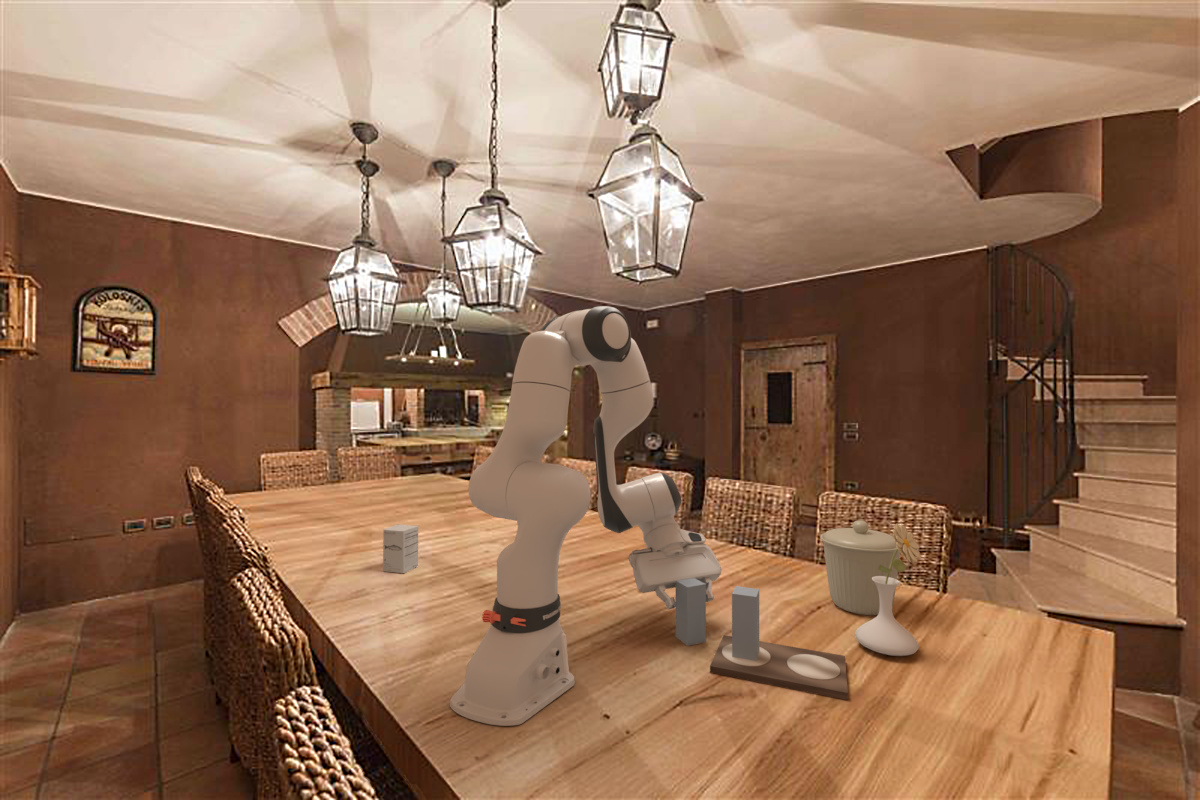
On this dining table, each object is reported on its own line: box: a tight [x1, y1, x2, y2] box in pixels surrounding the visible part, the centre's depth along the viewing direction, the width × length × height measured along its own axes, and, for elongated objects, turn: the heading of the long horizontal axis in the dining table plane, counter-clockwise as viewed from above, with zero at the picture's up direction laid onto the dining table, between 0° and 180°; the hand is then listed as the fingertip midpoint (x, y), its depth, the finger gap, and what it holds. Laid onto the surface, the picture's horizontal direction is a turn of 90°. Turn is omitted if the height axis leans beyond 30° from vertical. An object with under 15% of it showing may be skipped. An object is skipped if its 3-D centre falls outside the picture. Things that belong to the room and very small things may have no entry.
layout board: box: [709, 634, 849, 701], centre depth 99 cm, size 14×23×1 cm, turn 67°
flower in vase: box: [854, 523, 921, 657], centre depth 106 cm, size 13×11×25 cm
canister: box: [819, 519, 901, 616], centre depth 127 cm, size 18×18×21 cm
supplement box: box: [382, 523, 419, 574], centre depth 157 cm, size 7×7×13 cm
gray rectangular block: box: [675, 578, 707, 647], centre depth 110 cm, size 4×4×12 cm
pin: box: [731, 585, 760, 661], centre depth 101 cm, size 4×4×12 cm
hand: (691, 604), depth 110 cm, fingers open, 8 cm apart
